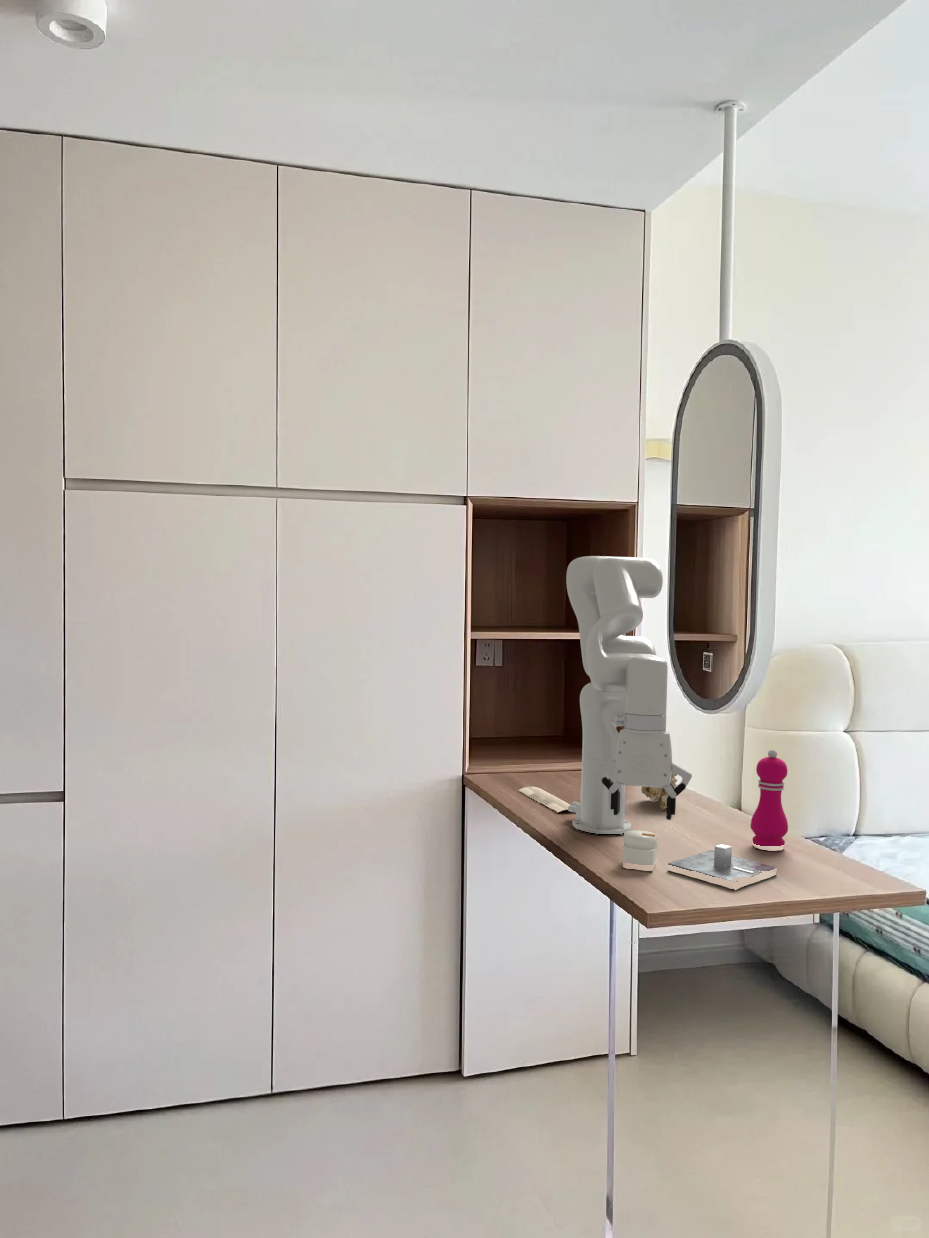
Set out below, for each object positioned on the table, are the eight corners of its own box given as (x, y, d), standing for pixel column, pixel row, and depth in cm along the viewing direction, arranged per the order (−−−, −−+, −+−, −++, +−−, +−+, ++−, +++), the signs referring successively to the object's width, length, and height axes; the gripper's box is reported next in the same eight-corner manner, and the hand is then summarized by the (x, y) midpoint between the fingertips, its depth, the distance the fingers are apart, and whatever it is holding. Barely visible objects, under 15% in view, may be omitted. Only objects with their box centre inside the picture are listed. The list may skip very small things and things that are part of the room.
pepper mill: (758, 840, 203) (762, 745, 202) (792, 847, 198) (797, 749, 197) (743, 847, 197) (748, 749, 196) (778, 854, 192) (783, 754, 192)
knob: (620, 868, 180) (621, 835, 180) (625, 860, 186) (626, 827, 185) (653, 872, 178) (655, 838, 178) (657, 863, 184) (658, 830, 183)
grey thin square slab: (667, 870, 179) (668, 844, 179) (710, 857, 189) (711, 832, 189) (734, 890, 169) (736, 862, 169) (776, 875, 179) (778, 848, 178)
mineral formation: (669, 799, 238) (671, 738, 238) (686, 813, 225) (689, 748, 224) (636, 799, 238) (639, 738, 237) (652, 812, 224) (655, 747, 224)
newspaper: (581, 816, 222) (582, 808, 222) (553, 817, 220) (553, 809, 220) (540, 793, 244) (540, 786, 244) (514, 794, 242) (514, 787, 242)
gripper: (595, 722, 179) (592, 815, 179) (691, 728, 174) (688, 824, 174) (601, 718, 186) (599, 808, 187) (694, 724, 181) (692, 816, 181)
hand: (642, 815), depth 180 cm, fingers open, 9 cm apart
